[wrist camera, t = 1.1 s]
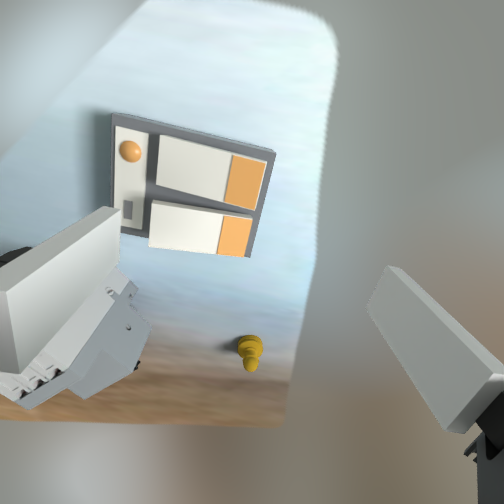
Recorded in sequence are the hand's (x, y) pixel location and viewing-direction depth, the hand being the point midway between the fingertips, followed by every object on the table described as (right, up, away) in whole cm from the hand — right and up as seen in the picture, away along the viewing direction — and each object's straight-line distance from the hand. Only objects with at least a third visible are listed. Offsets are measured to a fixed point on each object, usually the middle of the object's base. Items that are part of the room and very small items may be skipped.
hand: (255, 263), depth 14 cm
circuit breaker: (-20, -6, +26) cm, 33 cm away
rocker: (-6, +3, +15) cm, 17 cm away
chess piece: (-1, -14, +30) cm, 34 cm away
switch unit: (-7, +8, +19) cm, 22 cm away
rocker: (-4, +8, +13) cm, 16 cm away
